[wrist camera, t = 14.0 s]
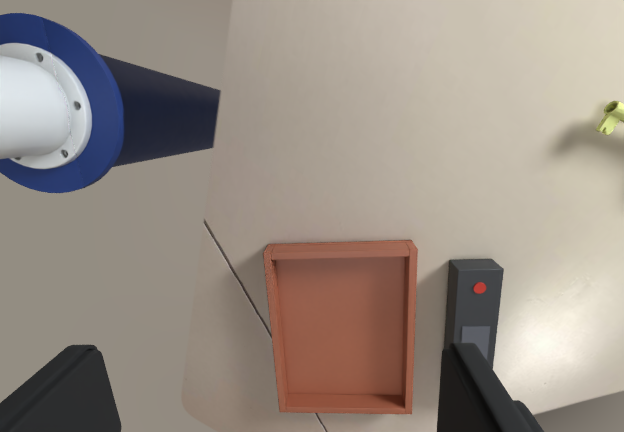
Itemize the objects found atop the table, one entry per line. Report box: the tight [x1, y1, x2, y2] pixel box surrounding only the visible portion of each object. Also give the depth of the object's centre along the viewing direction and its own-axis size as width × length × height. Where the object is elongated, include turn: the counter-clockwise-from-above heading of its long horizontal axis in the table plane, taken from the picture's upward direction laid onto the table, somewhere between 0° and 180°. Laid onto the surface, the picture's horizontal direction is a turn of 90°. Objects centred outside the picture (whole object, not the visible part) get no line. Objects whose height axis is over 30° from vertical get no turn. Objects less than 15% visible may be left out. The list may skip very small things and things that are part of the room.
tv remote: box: [444, 259, 504, 369], centre depth 35 cm, size 4×16×3 cm, turn 3°
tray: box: [263, 240, 418, 414], centre depth 37 cm, size 16×21×3 cm
